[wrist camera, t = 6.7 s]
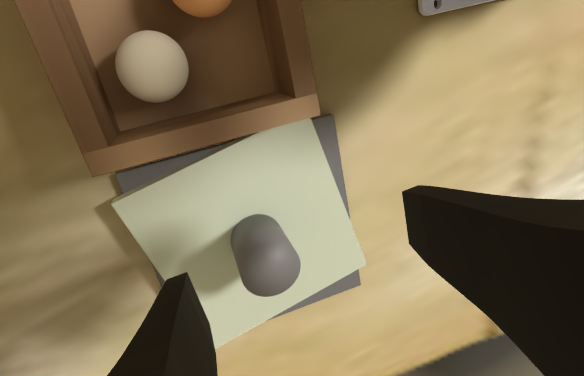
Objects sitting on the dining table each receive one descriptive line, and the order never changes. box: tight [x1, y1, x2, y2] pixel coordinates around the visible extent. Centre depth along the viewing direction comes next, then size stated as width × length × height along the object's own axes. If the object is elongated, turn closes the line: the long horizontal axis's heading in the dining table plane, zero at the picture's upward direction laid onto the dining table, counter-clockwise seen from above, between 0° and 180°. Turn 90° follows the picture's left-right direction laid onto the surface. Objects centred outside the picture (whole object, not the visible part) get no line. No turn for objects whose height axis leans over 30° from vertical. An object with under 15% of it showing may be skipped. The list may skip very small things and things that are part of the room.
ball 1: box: [115, 30, 189, 103], centre depth 16 cm, size 3×3×3 cm
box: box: [14, 0, 321, 177], centre depth 16 cm, size 10×10×4 cm
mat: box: [115, 114, 361, 320], centre depth 22 cm, size 12×12×1 cm
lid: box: [111, 118, 367, 349], centre depth 20 cm, size 11×11×4 cm
